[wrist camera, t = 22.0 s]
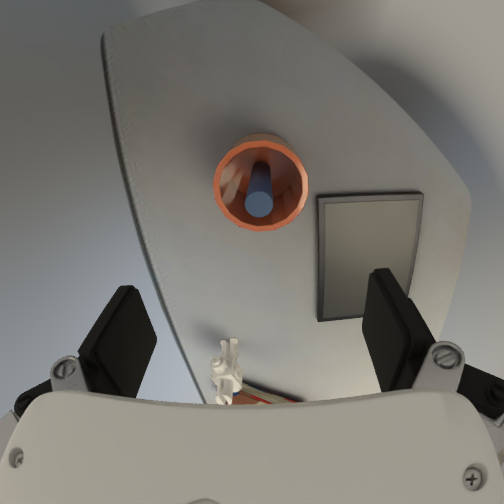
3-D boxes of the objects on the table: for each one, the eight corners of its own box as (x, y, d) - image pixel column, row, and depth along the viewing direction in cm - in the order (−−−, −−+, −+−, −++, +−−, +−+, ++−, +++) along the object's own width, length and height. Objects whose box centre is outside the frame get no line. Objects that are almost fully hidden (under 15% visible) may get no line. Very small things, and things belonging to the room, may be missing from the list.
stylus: (251, 161, 34) (243, 192, 22) (269, 160, 33) (271, 189, 22) (253, 179, 35) (246, 218, 23) (271, 177, 34) (274, 216, 23)
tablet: (316, 195, 36) (318, 198, 35) (420, 191, 34) (424, 194, 33) (316, 318, 45) (317, 322, 44) (402, 307, 44) (404, 312, 43)
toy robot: (231, 360, 51) (224, 415, 40) (210, 332, 47) (198, 390, 37) (250, 356, 50) (247, 412, 39) (231, 327, 47) (223, 385, 36)
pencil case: (276, 419, 61) (276, 437, 56) (211, 385, 55) (208, 405, 50) (313, 402, 57) (315, 421, 52) (249, 364, 51) (247, 385, 46)
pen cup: (221, 137, 33) (207, 146, 25) (295, 130, 32) (305, 137, 24) (231, 205, 37) (220, 234, 29) (300, 199, 36) (310, 227, 28)
